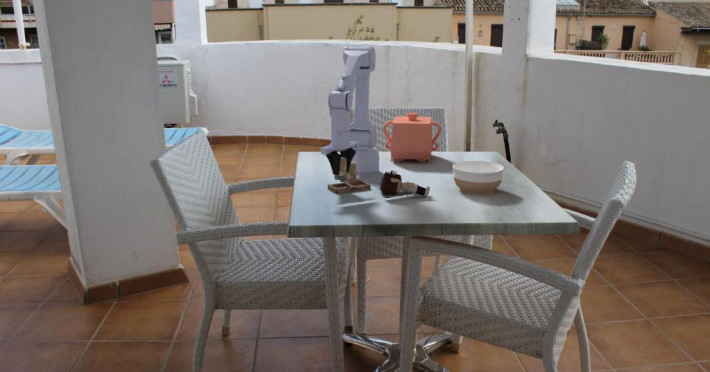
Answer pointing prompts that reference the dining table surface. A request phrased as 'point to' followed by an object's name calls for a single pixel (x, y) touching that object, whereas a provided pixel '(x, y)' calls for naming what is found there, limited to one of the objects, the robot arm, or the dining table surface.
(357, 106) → the robot arm
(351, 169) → the beige short cylinder
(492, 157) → the dining table surface
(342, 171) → the beige rounded cylinder
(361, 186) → the socket board
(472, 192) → the bowl
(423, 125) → the lidded jar with handles
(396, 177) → the figurine
